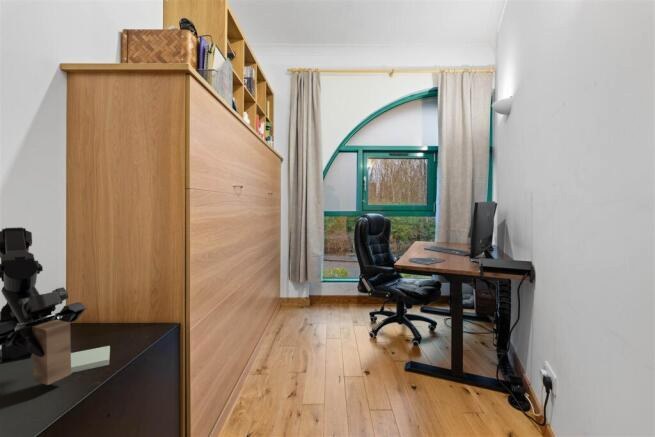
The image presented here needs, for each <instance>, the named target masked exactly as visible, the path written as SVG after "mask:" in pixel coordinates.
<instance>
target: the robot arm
mask: <svg viewBox="0 0 655 437" xmlns="http://www.w3.org/2000/svg"><path fill="white" fill-rule="evenodd" d="M32 246H33V233H32V231H29V230H27V229H26V227H22V226H21V227H5V228H2V229H1V230H0V279H1V282H3V286H2V288H1V289H0V290H1V293H2V295H3V297H4V299H5V300H6V303H5V305H3V306H2V308H1V309H0V348H1V359H0V364H7V363H11V362H17V361H22V360H27V359H30V358H33V354H35V355H37V356H39V357H43V356H44V355H45V354H44V351H43V349H42V347H41V346H40V344H39V343H38V341H37V340H36V338H35V337H34V335H33V331H32V327H34V326H37V325H41V324H44V323H47V322H51V321H54V320H60V321H65V322H70V324H72V323H74V322H76V321H78V319H79V318H80V317H81V316H82V315H83V313H84V312H85V311H86V310H87V307H86V306H85V304H84V303H83V302H78V301H77V302H74V303H70V304H66V305H63V307H62V309H61V310H60V312H57V313H53V312H55V311H56V309H57V307H56V306H58V305H62V304H63V302H64V301H65V300H68V298H69V294H68V291H67V290H66V289H65V287H64V286H62V287H58V288H55V289H54V290H52V291H51V292H47V293H41V294H40V293H39V290H38V289H37V288H36V284H37V277H38V275H39V274H40V273H41V272H43V271H44V270H43V265H42V264H41V263H40V262H39V261H38V260H35V255H34V253H32V252H29V250H30V247H32ZM52 313H53V314H52Z"/></svg>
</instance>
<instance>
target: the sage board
mask: <svg viewBox="0 0 655 437" xmlns="http://www.w3.org/2000/svg"><path fill="white" fill-rule="evenodd" d="M110 354H111V346H110V345H107V346H101V347H96V348H92V349H91V348H90V349H85V350H80V351H75V352H71V374H73V373H78V372H82V371H87V370H91V369H95V368H96V369H97V368H100V367H105V366H108V365H109V366H110Z"/></svg>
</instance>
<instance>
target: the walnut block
mask: <svg viewBox="0 0 655 437" xmlns="http://www.w3.org/2000/svg"><path fill="white" fill-rule="evenodd" d="M32 331H33V335H34V337H35V338H36V340H37V341H38V343H39V344H40V346H41V347H42V349H43V351H44V354H45V355H44V356H43V357H39V356H37V355H35V354H33V355H32V364H33V365H32V366H33V371H32V373H33V381H34V382H36V383H39V384H43V385H46V386H48V385H51V384H53V383H56V382H57V381H59V380H62V379H64V378H66V377H69V376H70V375H72V373H71V353H72V351H71V350H72V349H71V346H72V345H71V323H70V322H65V321H60V320H54V321H51V322H47V323H44V324H41V325H37V326H34V327H32Z"/></svg>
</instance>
